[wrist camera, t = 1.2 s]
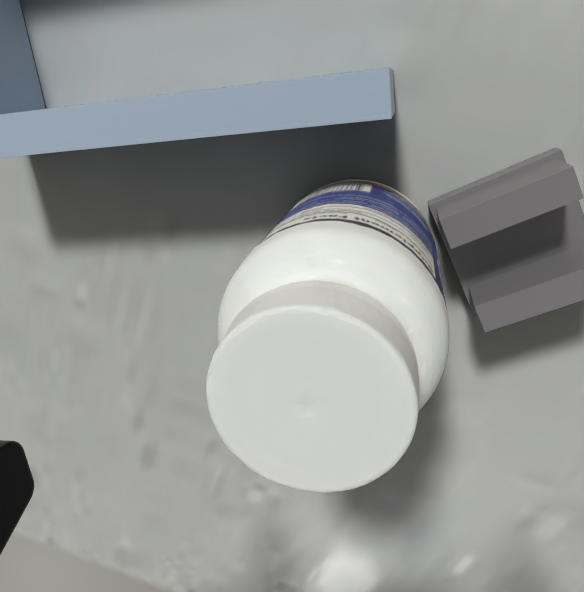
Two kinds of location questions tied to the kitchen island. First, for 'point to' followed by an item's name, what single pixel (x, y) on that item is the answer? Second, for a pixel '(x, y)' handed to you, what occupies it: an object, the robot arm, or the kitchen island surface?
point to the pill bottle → (331, 340)
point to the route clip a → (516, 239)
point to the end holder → (172, 105)
